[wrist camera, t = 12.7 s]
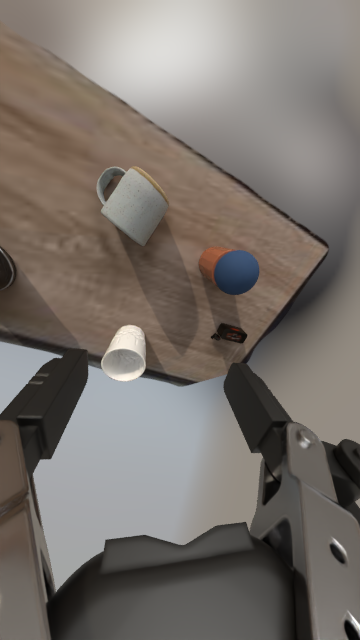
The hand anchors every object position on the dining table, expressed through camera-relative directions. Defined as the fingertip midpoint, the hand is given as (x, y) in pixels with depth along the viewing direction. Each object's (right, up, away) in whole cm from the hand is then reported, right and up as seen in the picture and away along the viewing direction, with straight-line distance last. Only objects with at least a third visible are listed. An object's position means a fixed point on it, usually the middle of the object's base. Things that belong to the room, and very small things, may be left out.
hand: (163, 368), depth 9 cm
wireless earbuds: (+12, 0, +34) cm, 36 cm away
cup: (+8, +14, +26) cm, 30 cm away
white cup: (-11, -1, +31) cm, 33 cm away
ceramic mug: (-7, +22, +20) cm, 31 cm away
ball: (+9, +10, +16) cm, 21 cm away
